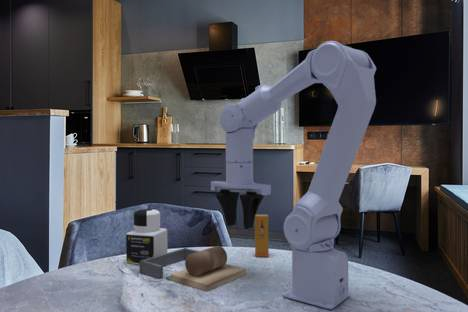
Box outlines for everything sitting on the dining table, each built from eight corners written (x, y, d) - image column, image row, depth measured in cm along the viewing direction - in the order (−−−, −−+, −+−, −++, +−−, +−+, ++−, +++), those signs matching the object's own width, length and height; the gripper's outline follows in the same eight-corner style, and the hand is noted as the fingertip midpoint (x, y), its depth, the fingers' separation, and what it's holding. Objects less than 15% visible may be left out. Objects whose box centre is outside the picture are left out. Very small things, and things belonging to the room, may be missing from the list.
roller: (218, 270, 85) (230, 260, 83) (191, 280, 79) (204, 269, 77) (208, 252, 87) (220, 241, 84) (182, 260, 80) (194, 249, 78)
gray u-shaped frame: (205, 263, 91) (205, 252, 91) (160, 278, 81) (159, 266, 80) (185, 258, 95) (185, 247, 95) (139, 272, 85) (139, 260, 85)
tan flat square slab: (245, 274, 83) (245, 268, 83) (207, 291, 74) (206, 284, 74) (205, 264, 90) (205, 259, 90) (165, 278, 81) (165, 272, 81)
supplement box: (268, 253, 99) (268, 213, 99) (268, 257, 95) (268, 216, 95) (255, 253, 99) (255, 213, 99) (254, 257, 96) (254, 216, 96)
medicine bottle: (125, 263, 91) (125, 211, 91) (141, 255, 98) (141, 207, 98) (153, 266, 89) (153, 213, 89) (168, 257, 96) (167, 208, 96)
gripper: (278, 162, 82) (279, 227, 82) (225, 161, 91) (225, 219, 91) (259, 163, 76) (259, 233, 77) (204, 162, 85) (204, 224, 86)
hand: (239, 226), depth 84 cm, fingers open, 4 cm apart
